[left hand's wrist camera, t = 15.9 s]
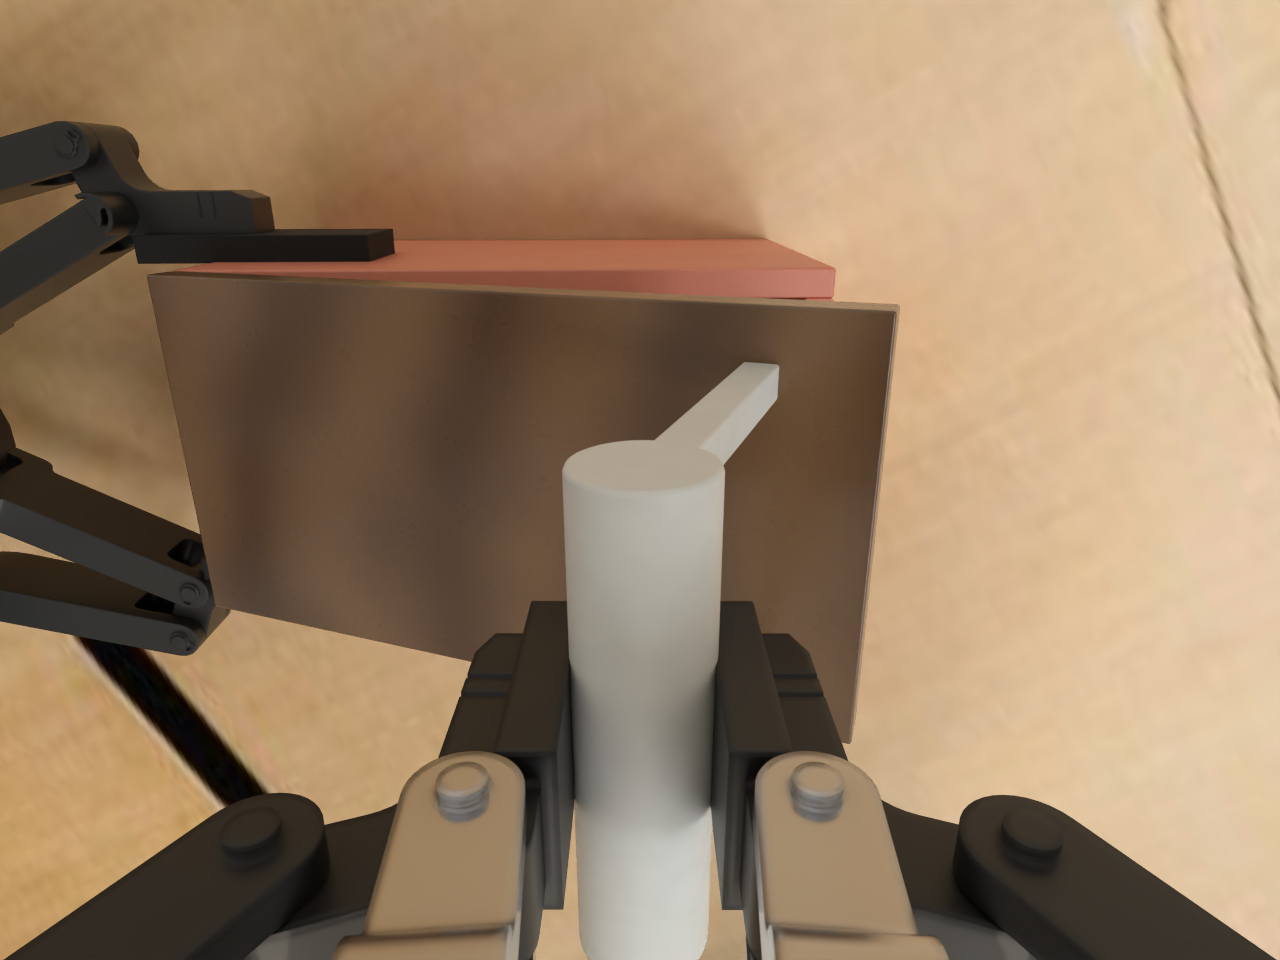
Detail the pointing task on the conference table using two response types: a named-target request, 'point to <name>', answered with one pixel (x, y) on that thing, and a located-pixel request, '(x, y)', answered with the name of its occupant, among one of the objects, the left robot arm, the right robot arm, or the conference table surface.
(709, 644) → the lid
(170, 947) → the left robot arm
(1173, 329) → the conference table surface
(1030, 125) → the conference table surface
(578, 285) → the chest
